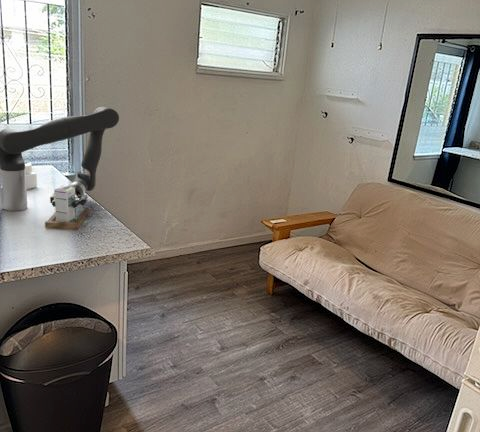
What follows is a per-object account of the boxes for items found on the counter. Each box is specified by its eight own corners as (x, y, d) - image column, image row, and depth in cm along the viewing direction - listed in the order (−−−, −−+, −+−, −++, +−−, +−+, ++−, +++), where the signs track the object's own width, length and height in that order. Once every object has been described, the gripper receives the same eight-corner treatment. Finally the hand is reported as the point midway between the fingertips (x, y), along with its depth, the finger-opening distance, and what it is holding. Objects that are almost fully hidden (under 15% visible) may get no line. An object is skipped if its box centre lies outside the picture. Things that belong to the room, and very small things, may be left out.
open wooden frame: (45, 228, 172) (45, 222, 171) (61, 210, 192) (60, 204, 191) (83, 230, 174) (82, 224, 173) (94, 212, 194) (94, 206, 193)
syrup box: (68, 225, 176) (67, 190, 171) (55, 223, 177) (53, 188, 172) (76, 220, 181) (75, 187, 176) (63, 218, 182) (62, 184, 177)
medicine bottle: (14, 187, 214) (12, 163, 210) (26, 184, 220) (25, 160, 216) (25, 190, 212) (24, 165, 208) (37, 187, 218) (36, 163, 214)
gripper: (56, 182, 187) (44, 194, 172) (91, 185, 189) (82, 197, 174) (57, 199, 190) (45, 212, 174) (91, 201, 192) (82, 215, 176)
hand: (63, 205), depth 174 cm, fingers closed on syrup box, 7 cm apart
